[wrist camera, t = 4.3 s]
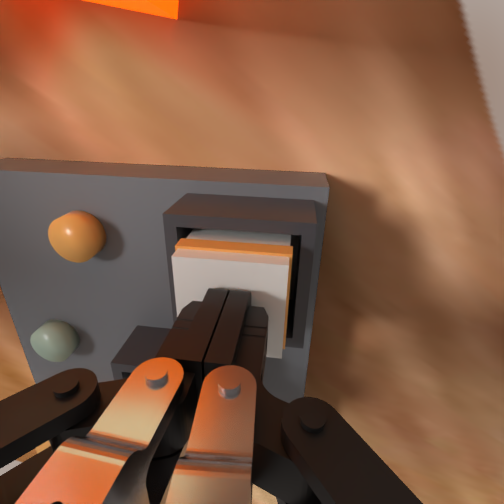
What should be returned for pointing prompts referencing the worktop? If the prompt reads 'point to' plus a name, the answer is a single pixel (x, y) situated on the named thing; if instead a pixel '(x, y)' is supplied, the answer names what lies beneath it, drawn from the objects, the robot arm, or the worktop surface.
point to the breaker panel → (140, 256)
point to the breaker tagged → (237, 273)
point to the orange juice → (145, 6)
